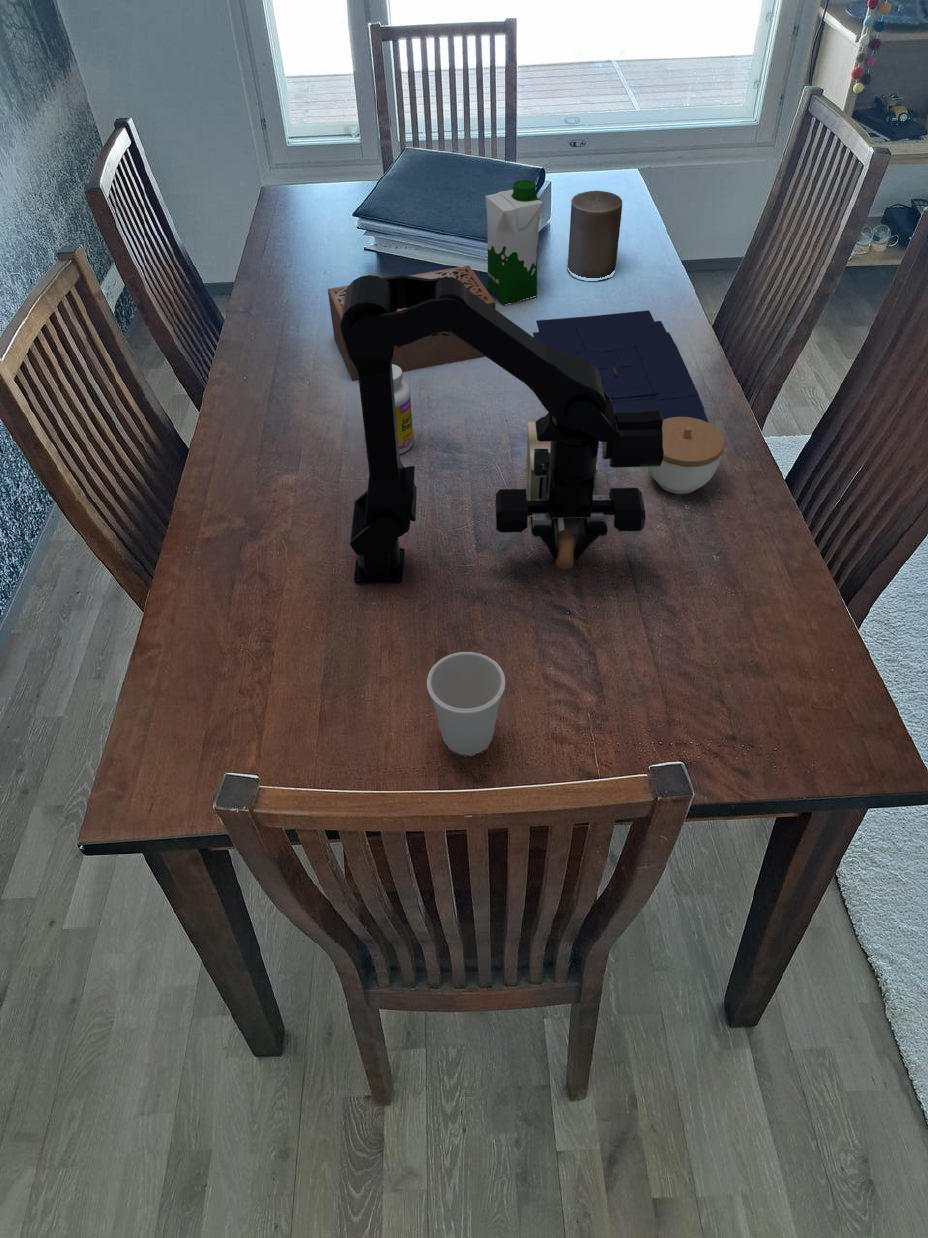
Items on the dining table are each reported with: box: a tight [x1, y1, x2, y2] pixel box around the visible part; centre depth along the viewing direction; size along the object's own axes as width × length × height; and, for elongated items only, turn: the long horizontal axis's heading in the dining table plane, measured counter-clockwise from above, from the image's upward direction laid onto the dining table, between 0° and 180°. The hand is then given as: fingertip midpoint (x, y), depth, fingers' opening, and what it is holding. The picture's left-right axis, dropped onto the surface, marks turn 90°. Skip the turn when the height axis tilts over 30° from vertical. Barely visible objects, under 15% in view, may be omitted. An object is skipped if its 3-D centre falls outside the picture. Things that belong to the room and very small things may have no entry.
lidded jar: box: [647, 417, 726, 495], centre depth 131 cm, size 11×11×9 cm
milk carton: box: [485, 179, 544, 306], centre depth 168 cm, size 9×9×20 cm
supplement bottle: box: [392, 364, 414, 455], centre depth 138 cm, size 7×7×13 cm
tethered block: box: [539, 477, 577, 570], centre depth 127 cm, size 19×5×5 cm, turn 0°
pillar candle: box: [567, 190, 623, 278], centre depth 175 cm, size 10×10×15 cm
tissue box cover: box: [327, 265, 496, 382], centre depth 159 cm, size 26×14×10 cm, turn 108°
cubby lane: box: [525, 421, 598, 523], centre depth 129 cm, size 11×9×9 cm
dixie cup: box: [426, 651, 506, 755], centre depth 100 cm, size 8×8×10 cm
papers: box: [532, 309, 710, 423], centre depth 153 cm, size 24×30×4 cm
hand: (565, 557), depth 122 cm, fingers closed on tethered block, 2 cm apart
